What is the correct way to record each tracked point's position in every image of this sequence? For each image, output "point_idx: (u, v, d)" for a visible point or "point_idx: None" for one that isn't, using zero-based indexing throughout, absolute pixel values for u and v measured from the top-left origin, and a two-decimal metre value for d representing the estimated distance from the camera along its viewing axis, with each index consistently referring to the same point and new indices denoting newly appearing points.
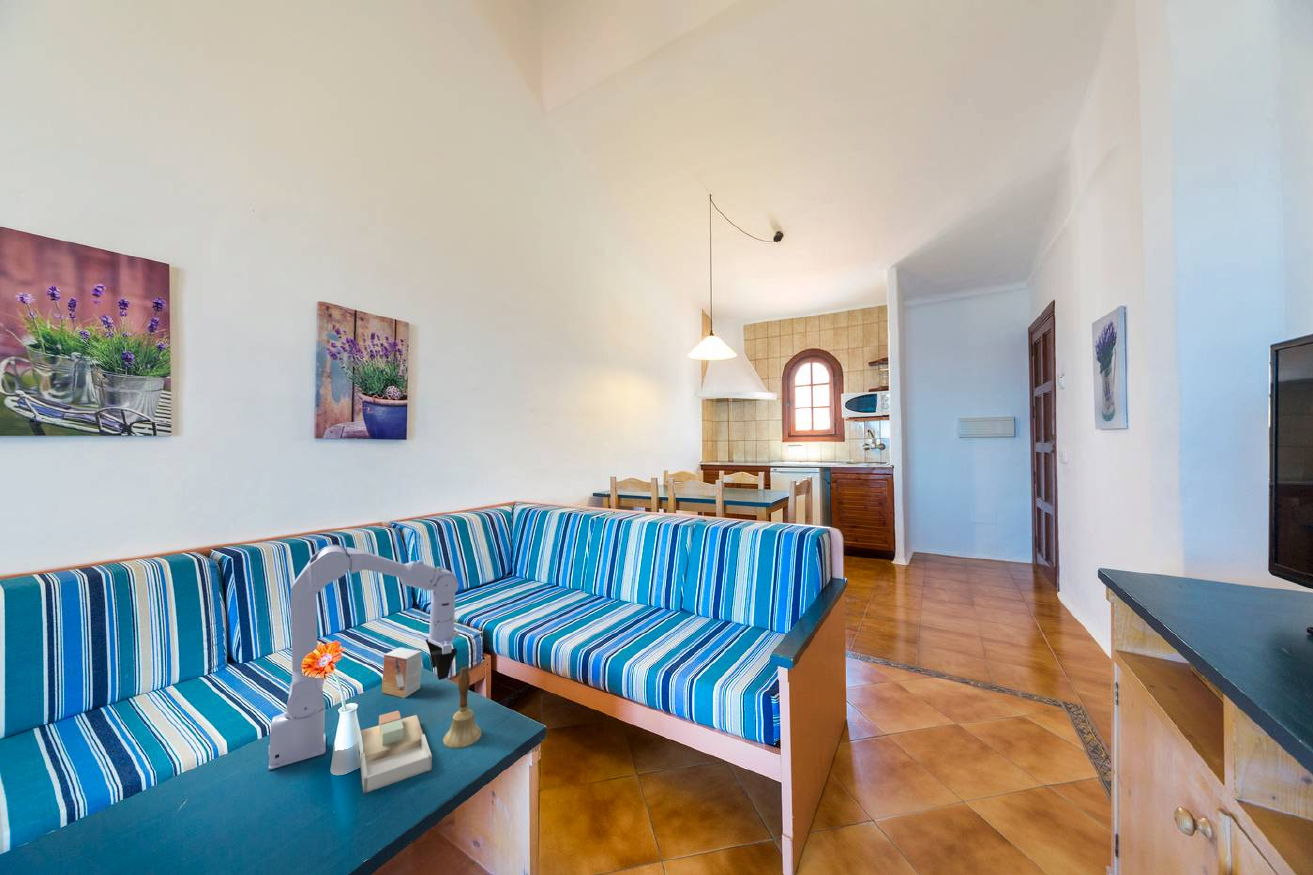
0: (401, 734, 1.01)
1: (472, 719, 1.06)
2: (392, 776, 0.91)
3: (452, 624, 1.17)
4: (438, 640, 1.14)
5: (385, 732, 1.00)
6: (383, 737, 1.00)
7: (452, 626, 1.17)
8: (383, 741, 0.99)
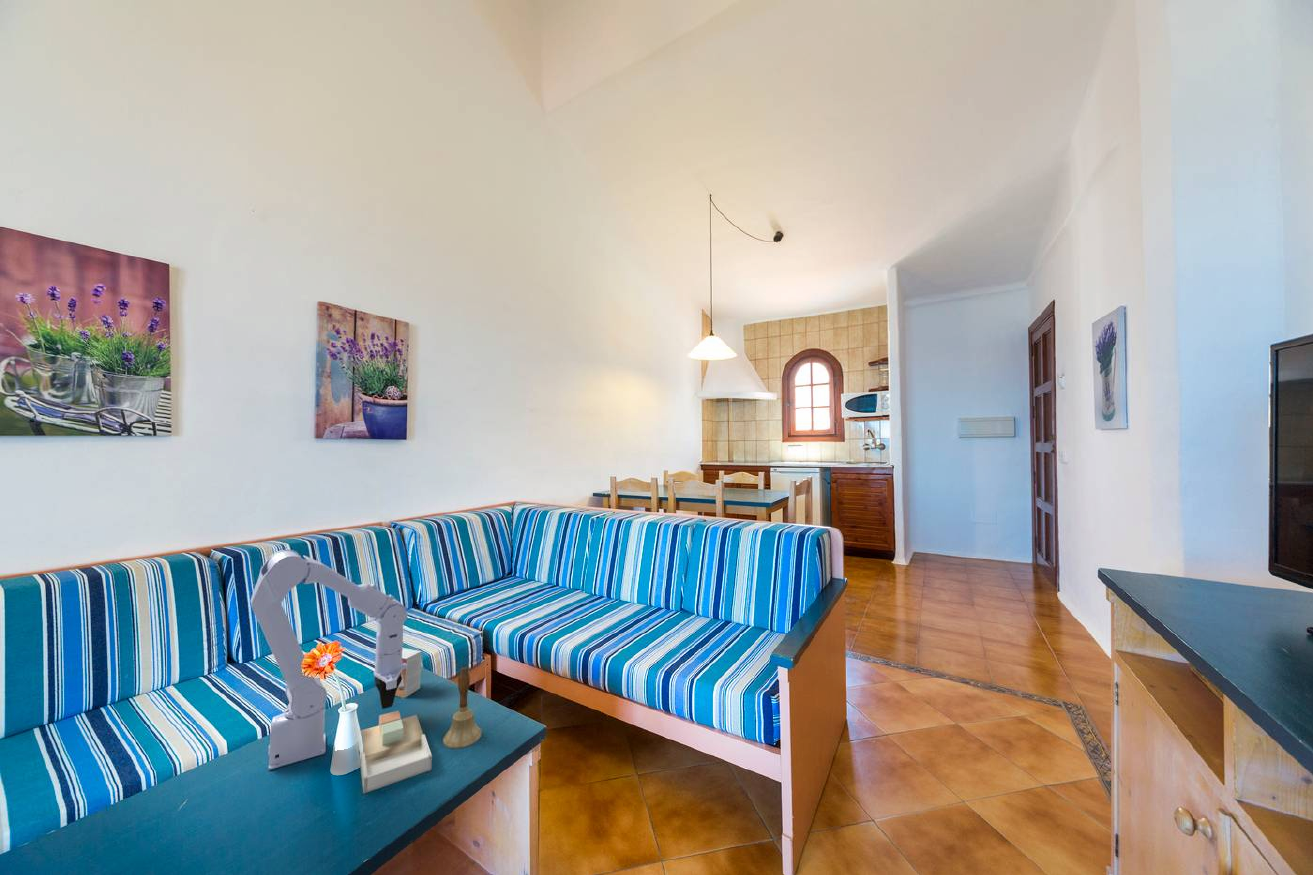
0: (401, 734, 1.01)
1: (472, 719, 1.06)
2: (392, 776, 0.91)
3: (399, 656, 1.12)
4: (384, 674, 1.09)
5: (385, 732, 1.00)
6: (383, 737, 1.00)
7: (400, 658, 1.12)
8: (383, 741, 0.99)
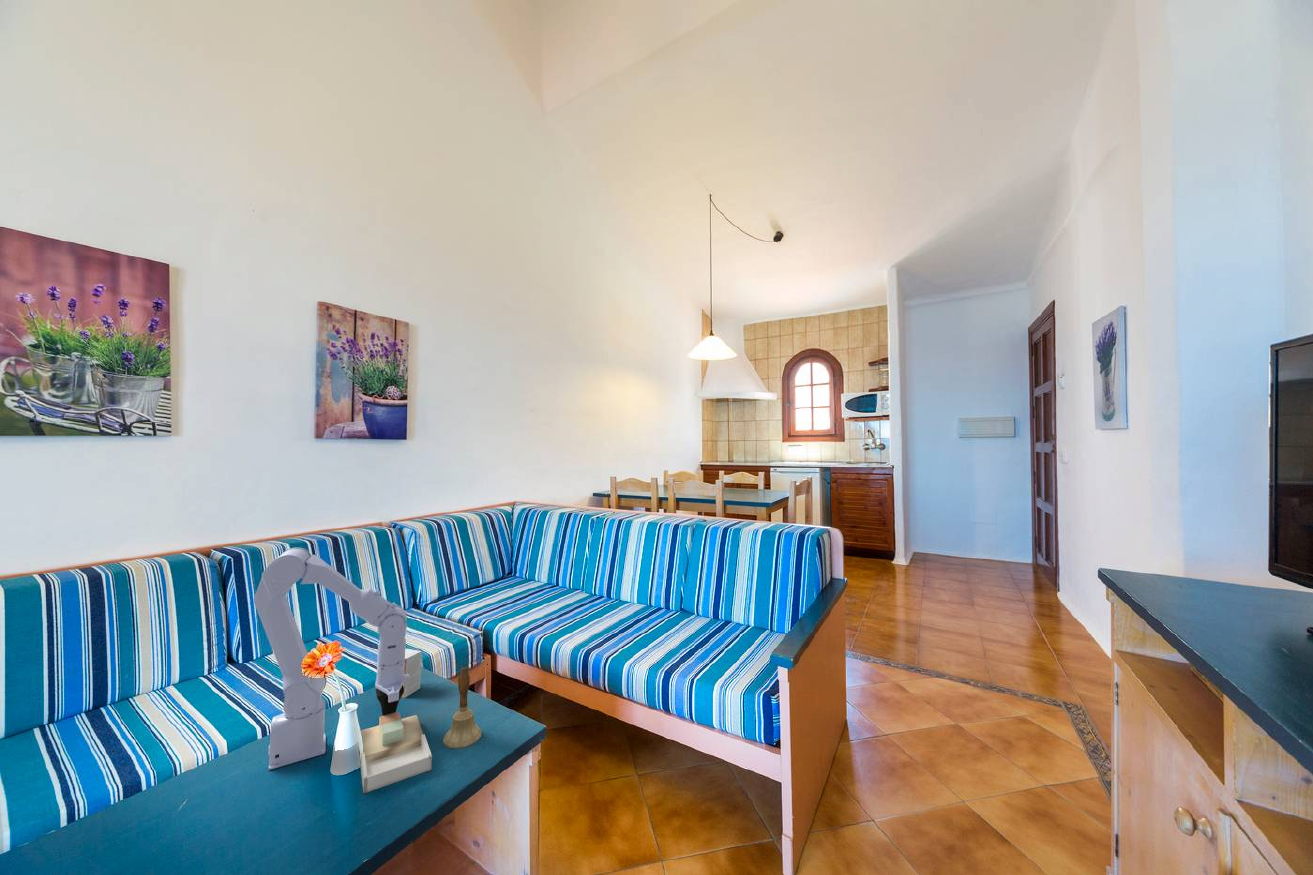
0: (401, 734, 1.01)
1: (472, 719, 1.06)
2: (392, 776, 0.91)
3: (402, 667, 1.08)
4: (385, 685, 1.05)
5: (385, 733, 1.00)
6: (383, 737, 0.99)
7: (402, 669, 1.08)
8: (383, 741, 0.99)
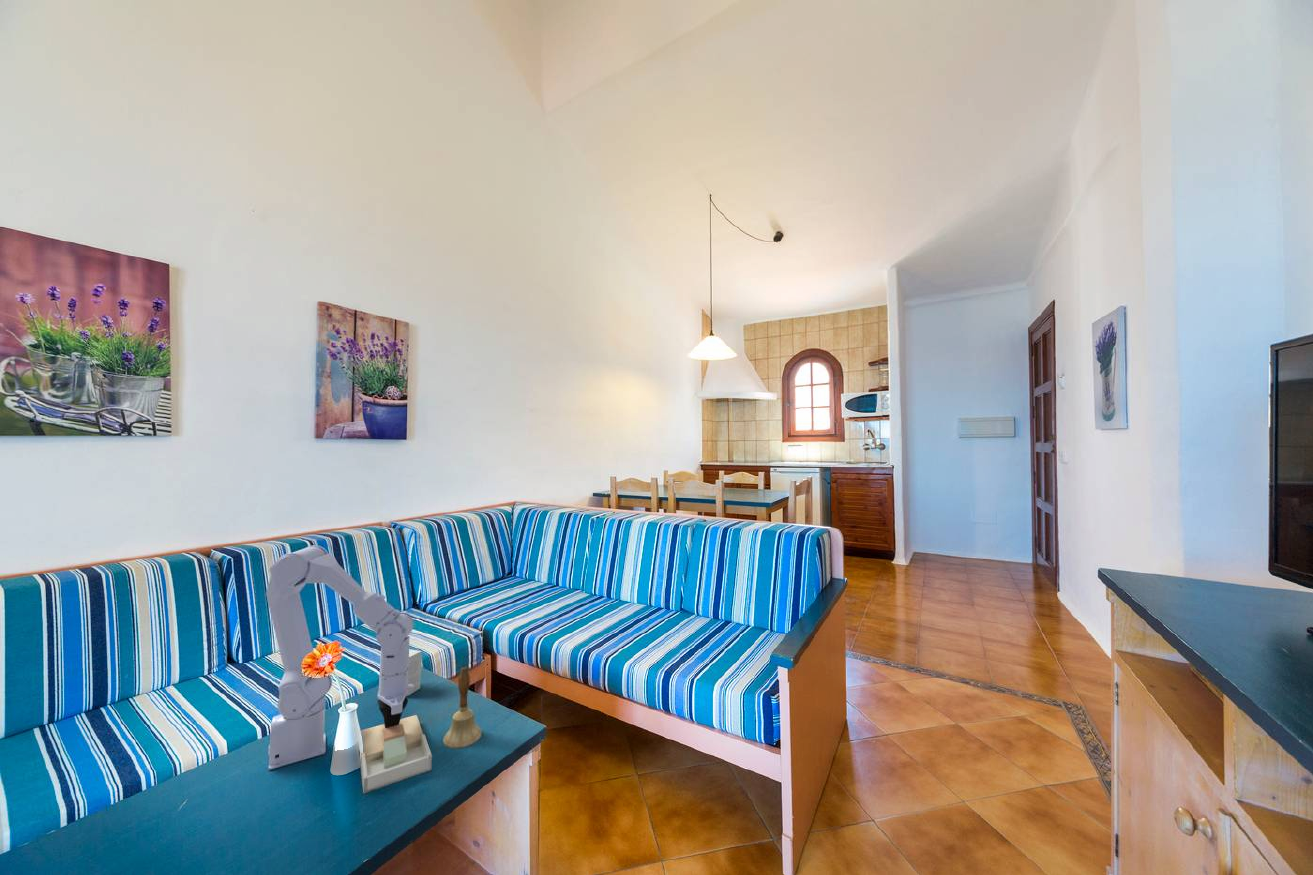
0: (404, 757, 0.96)
1: (472, 719, 1.06)
2: (392, 776, 0.91)
3: (405, 677, 1.03)
4: (388, 697, 1.00)
5: (387, 757, 0.94)
6: (385, 761, 0.94)
7: (406, 679, 1.03)
8: (385, 764, 0.94)
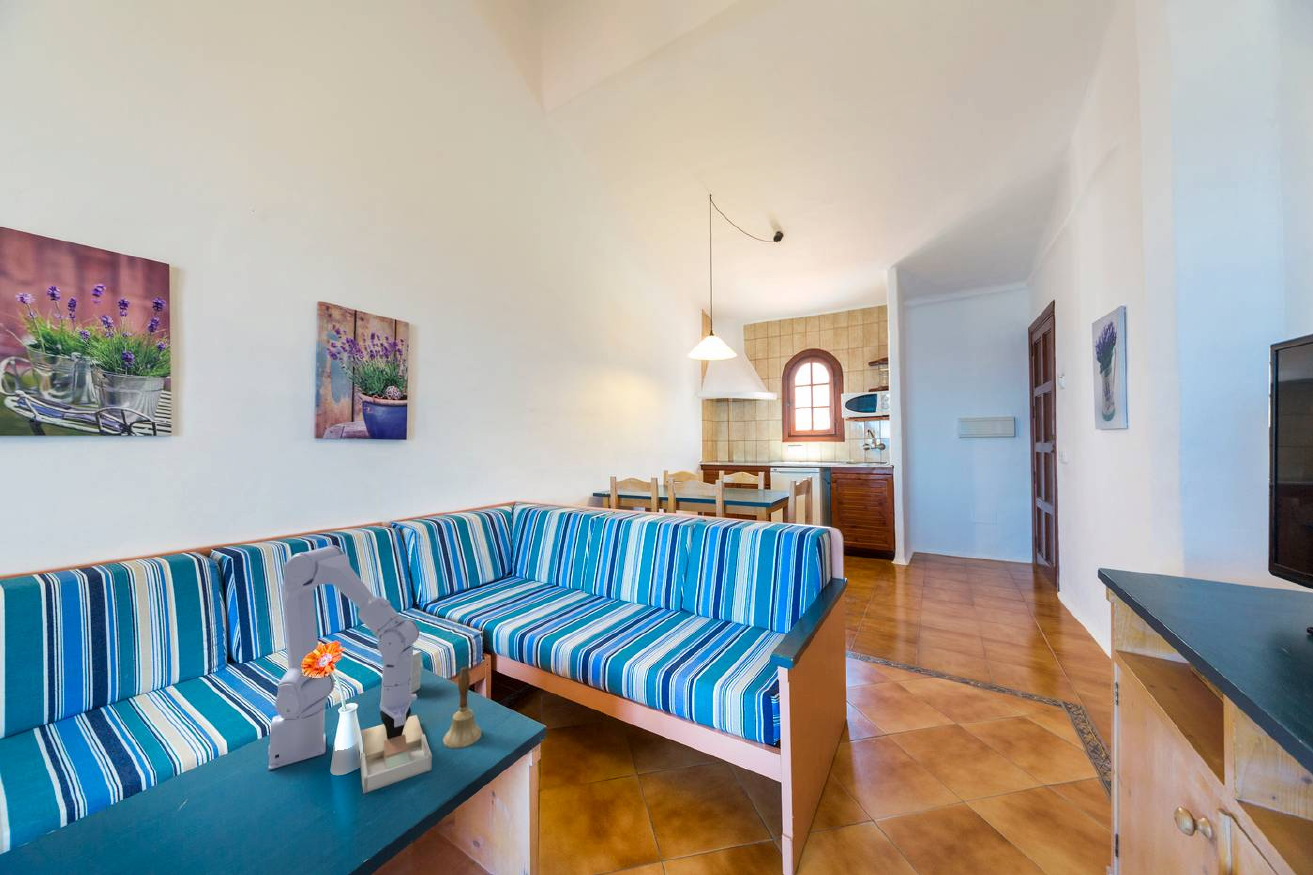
0: None
1: (472, 719, 1.06)
2: (392, 776, 0.91)
3: (409, 687, 0.99)
4: (391, 708, 0.96)
5: (390, 767, 0.91)
6: None
7: (409, 689, 0.99)
8: None
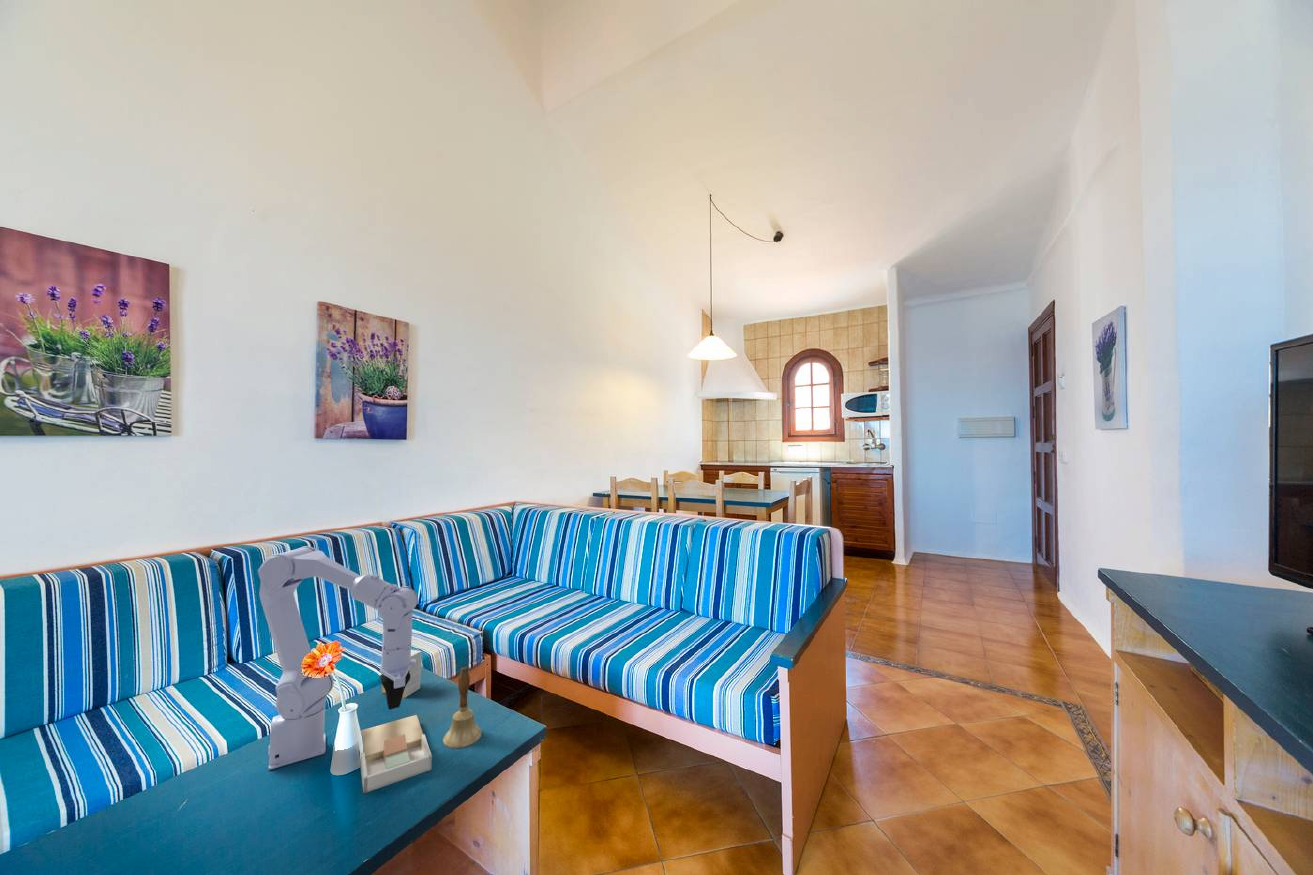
0: None
1: (472, 719, 1.06)
2: (392, 776, 0.91)
3: (408, 652, 1.01)
4: (391, 671, 0.99)
5: (390, 767, 0.91)
6: None
7: (409, 654, 1.02)
8: None
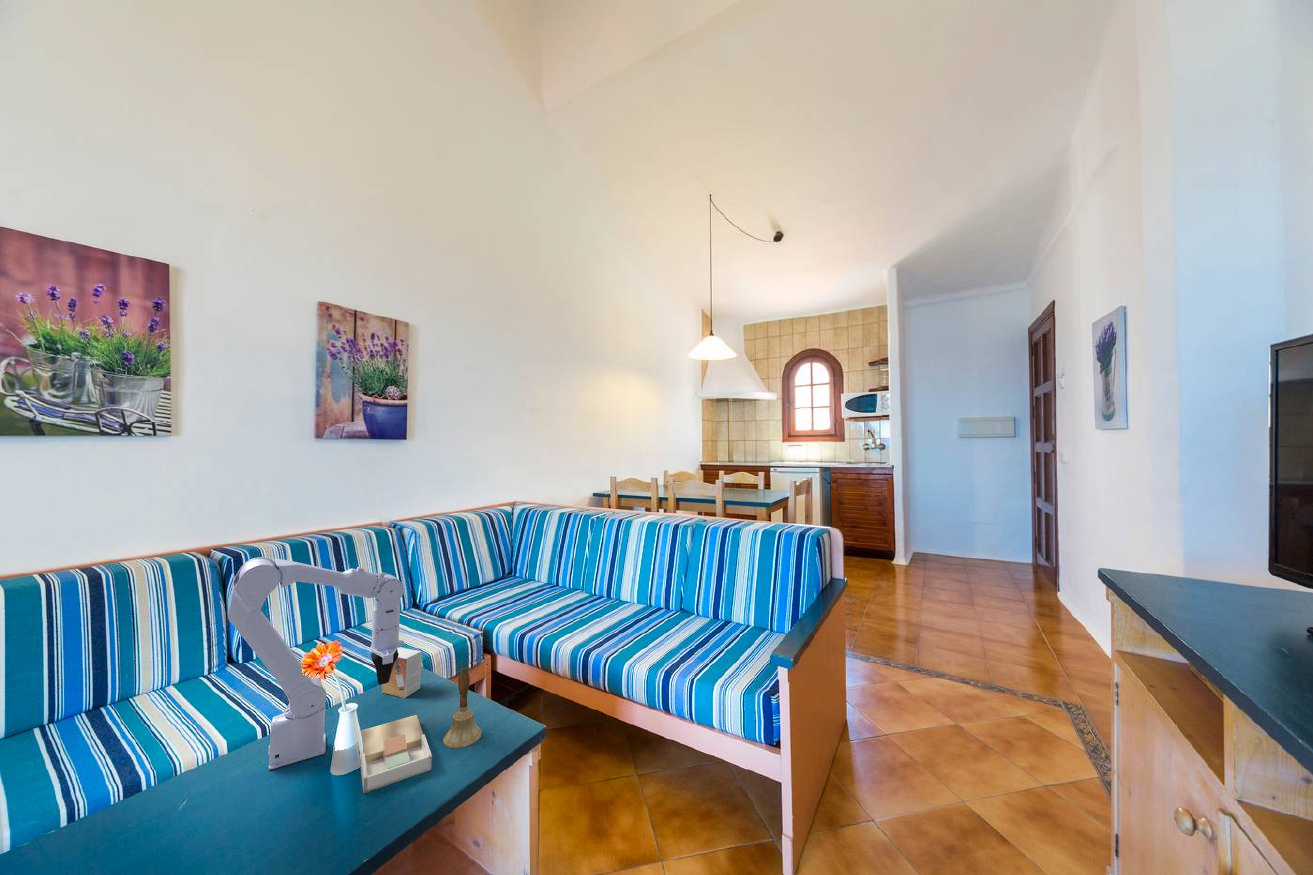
0: None
1: (472, 719, 1.06)
2: (392, 776, 0.91)
3: (396, 632, 1.11)
4: (380, 649, 1.08)
5: (390, 767, 0.91)
6: None
7: (397, 634, 1.11)
8: None
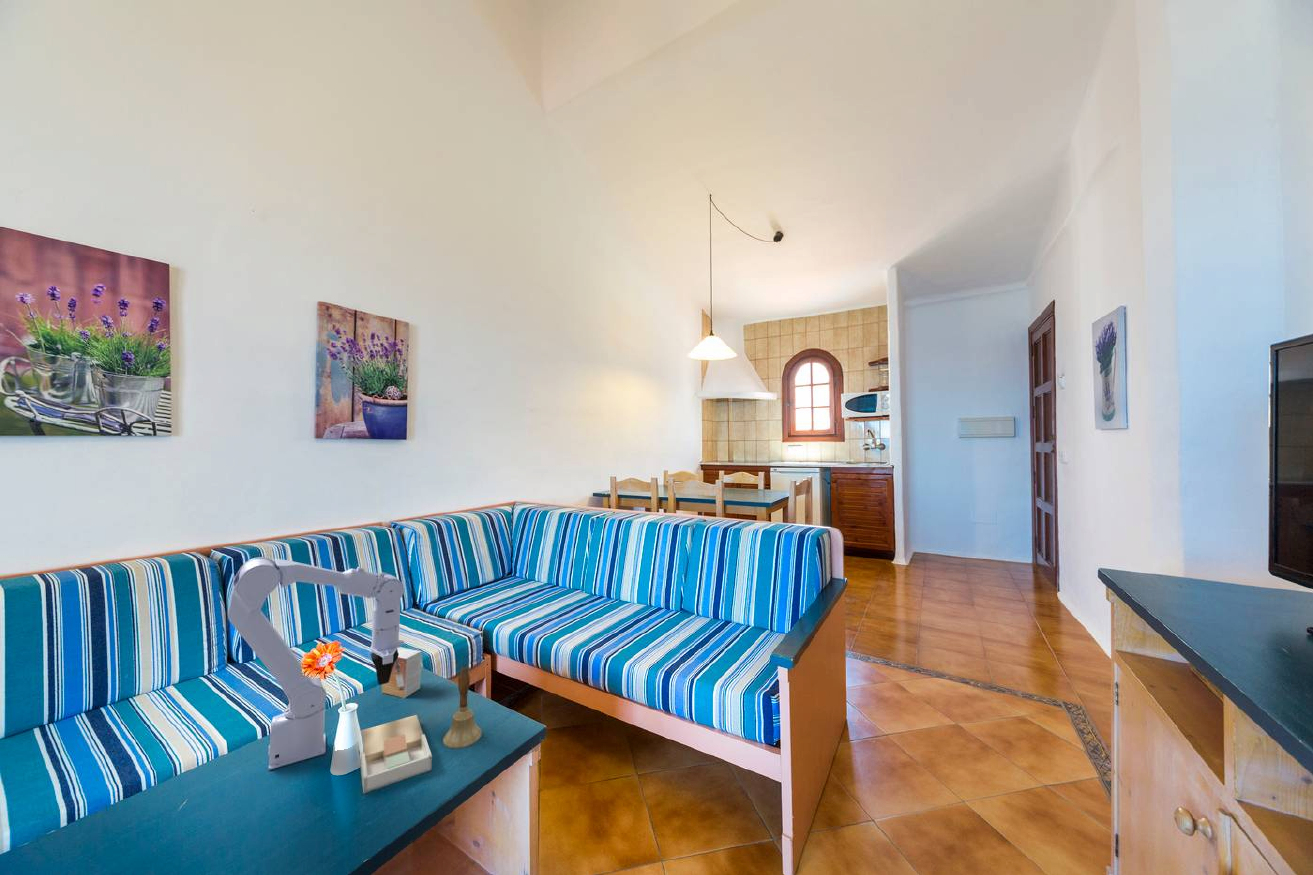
0: None
1: (472, 719, 1.06)
2: (392, 776, 0.91)
3: (396, 632, 1.11)
4: (380, 649, 1.08)
5: (390, 767, 0.91)
6: None
7: (397, 634, 1.11)
8: None
